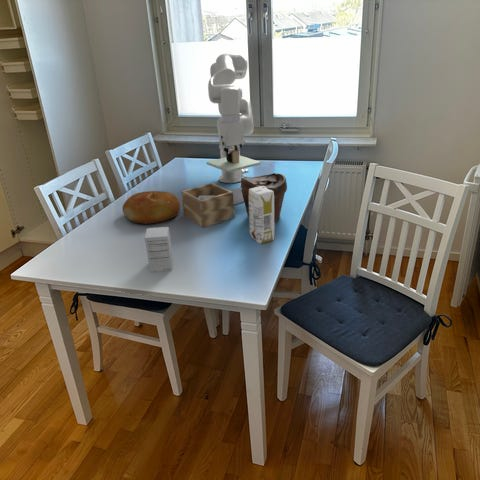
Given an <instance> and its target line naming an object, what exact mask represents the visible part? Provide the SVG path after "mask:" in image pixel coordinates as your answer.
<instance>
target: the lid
mask: <svg viewBox="0 0 480 480" xmlns="http://www.w3.org/2000/svg"><path fill="white" fill-rule="evenodd" d="M231 153H232V162H228V161H227V159H226V157H225V158H221V157H220V158H217V159H213V160H209V161H206V165H208V166H210V167H213V168H216V169H218V170H221V171H222V170H223V171H226V172H228V173H229V172H233V171H237V170H240V169H243V170H244V169H248V168H251V167H252V168H253V167H255V166H260V165H261V161H258V160H255V159H252V158H249V157H246V156H243V155H241V154H240V155H239V151H237V150H234V149H231Z"/></svg>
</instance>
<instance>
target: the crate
mask: <svg viewBox="0 0 480 480" xmlns="http://www.w3.org/2000/svg"><path fill="white" fill-rule="evenodd" d="M230 190H231V189H227V188H225V187H223V186H221V185H218V184H216V183H214V182H210V183H207V184H203V185H200V186H195V187H192V188H188V189H184V190H181V191H180V192H181V200H182V209H183V216H184V218H186V219H188V220H190V221H191V222H193V223H194V224H196V225H198V226H199V227H201V228H204V229H205V228H207V227H210V226H212V225H216V224H218V223H222V222H225V221H227V220H230V219H233V218H235V205H234V202H233V192H232V191H230ZM199 196H214V197H211V198H207V199H204V200H201V199H199V198H198V197H199Z"/></svg>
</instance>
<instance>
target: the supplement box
mask: <svg viewBox="0 0 480 480" xmlns="http://www.w3.org/2000/svg"><path fill="white" fill-rule="evenodd" d="M144 241H145V248H146V255H147V260H148V267H149V268H148V269H149V272H151V273H154V272H156V273H157V272H165V271H167V272H168V271H169V272H170V271H172V270H173V263H174V262H173V261H174V257H173V251H172V250H173V249H172V243H171V242H172V241H171V235H170V228H169V226H161V227H150V228H146V230H145V236H144Z"/></svg>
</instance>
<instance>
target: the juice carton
mask: <svg viewBox="0 0 480 480" xmlns="http://www.w3.org/2000/svg"><path fill="white" fill-rule="evenodd" d="M248 221H249V234H250V235H249V236H250V238H252V239H253V240H254V241H255V242H257V243H258V244H259V245H261V244H265V243H267V242H272V241H274V240H275V222H274V191H272V190H269V189H267V188H266V187H265V186H260V187H255V188H251V189H249V219H248Z"/></svg>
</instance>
